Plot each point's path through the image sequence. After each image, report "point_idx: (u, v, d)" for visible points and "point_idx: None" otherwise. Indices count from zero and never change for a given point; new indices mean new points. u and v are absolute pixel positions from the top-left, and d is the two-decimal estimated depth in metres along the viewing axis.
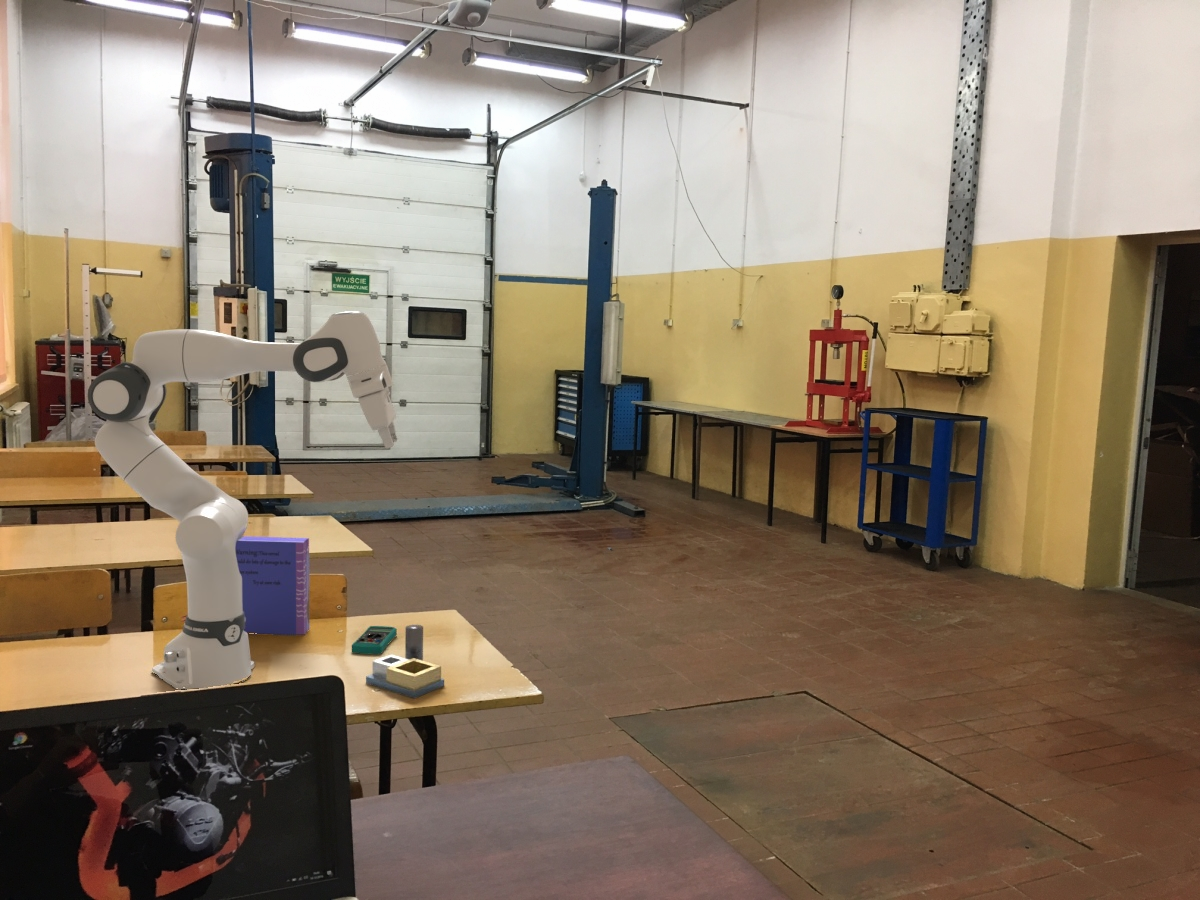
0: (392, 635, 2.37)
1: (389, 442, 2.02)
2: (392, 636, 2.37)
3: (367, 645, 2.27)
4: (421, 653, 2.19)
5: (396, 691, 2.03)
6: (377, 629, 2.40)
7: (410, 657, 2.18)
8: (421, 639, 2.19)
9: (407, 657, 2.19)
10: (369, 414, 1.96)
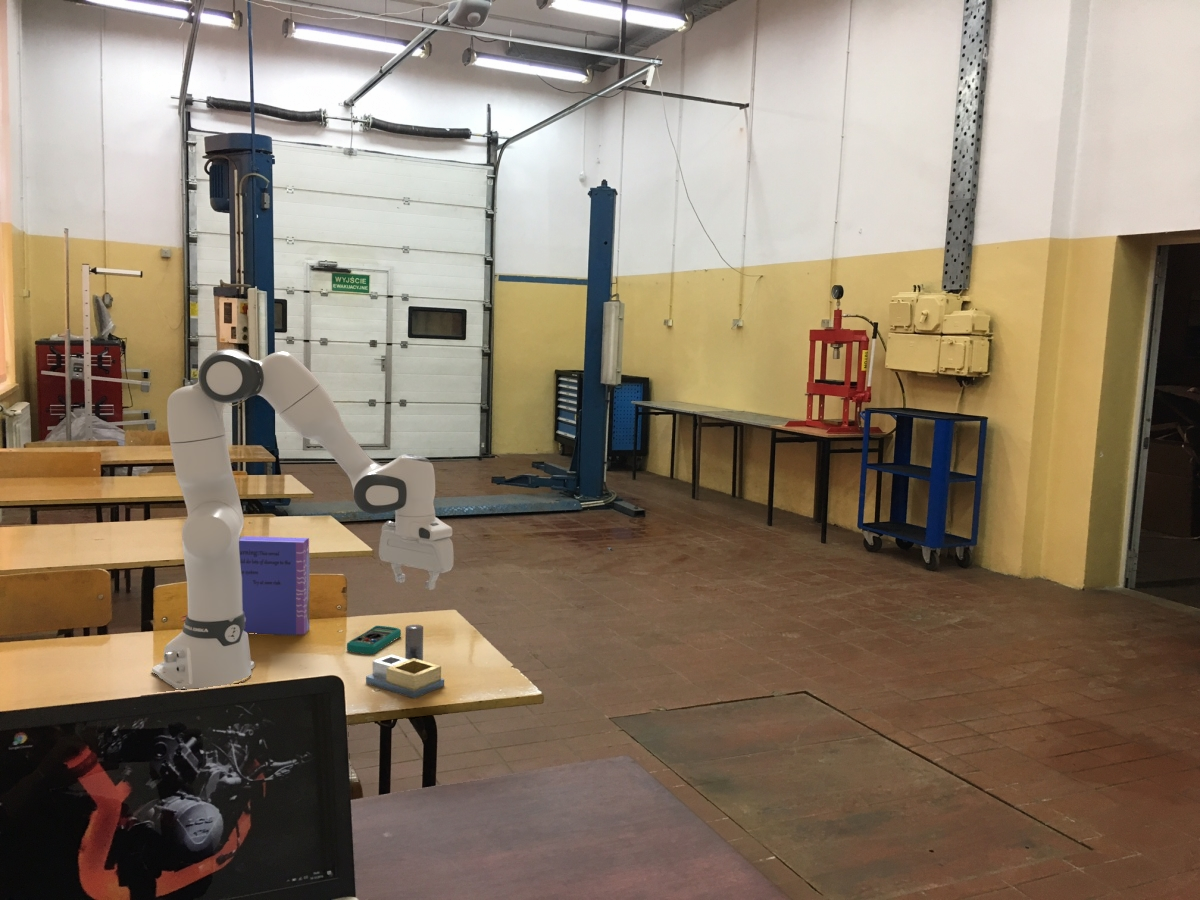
0: (393, 636, 2.37)
1: (433, 584, 2.15)
2: (393, 637, 2.37)
3: (361, 644, 2.27)
4: (421, 653, 2.19)
5: (396, 691, 2.03)
6: (382, 629, 2.40)
7: (410, 657, 2.18)
8: (421, 639, 2.19)
9: (407, 657, 2.19)
10: (444, 557, 2.11)
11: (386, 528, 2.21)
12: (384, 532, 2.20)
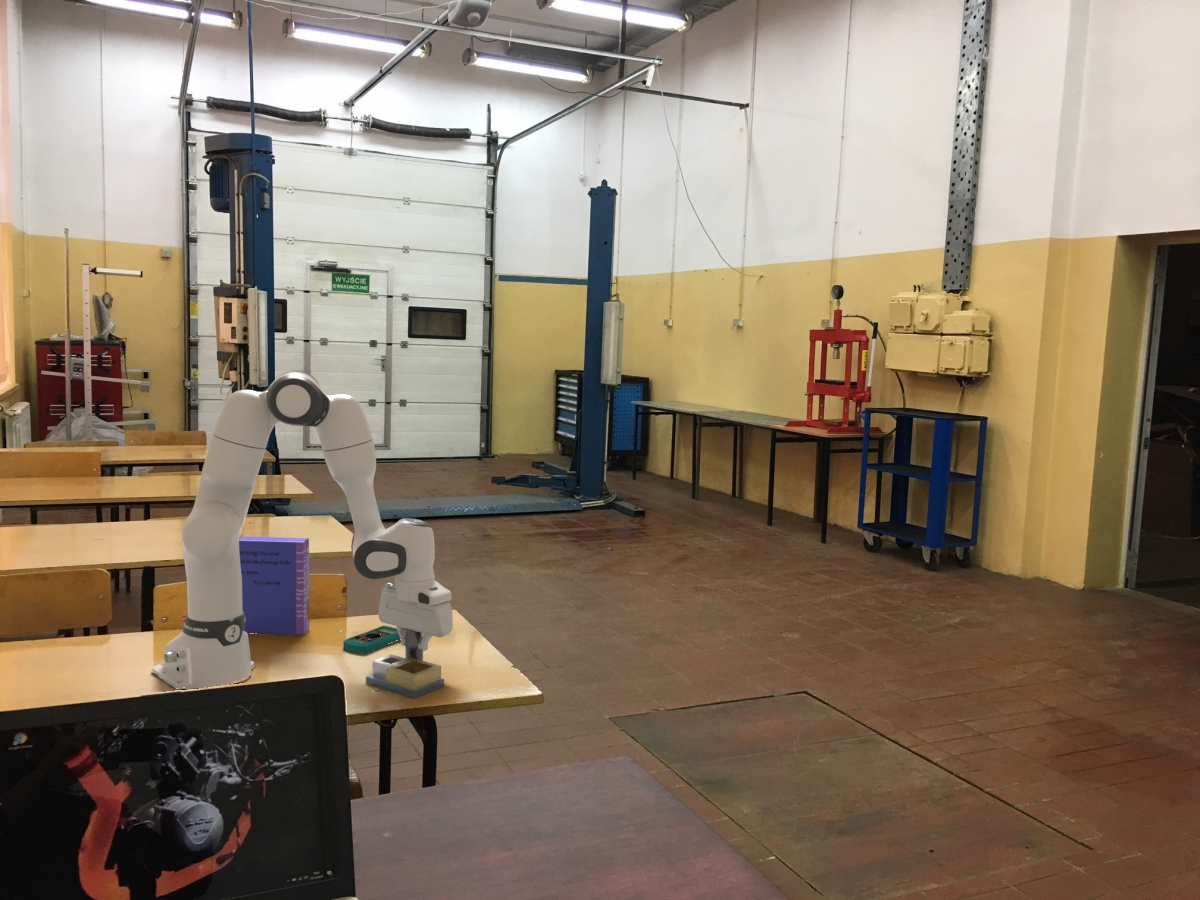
0: (394, 637, 2.36)
1: (426, 645, 2.18)
2: (394, 638, 2.36)
3: (354, 643, 2.28)
4: (421, 652, 2.19)
5: (396, 691, 2.03)
6: (387, 629, 2.40)
7: (410, 657, 2.18)
8: (421, 639, 2.19)
9: (407, 657, 2.19)
10: (443, 622, 2.13)
11: (386, 590, 2.23)
12: (384, 594, 2.21)
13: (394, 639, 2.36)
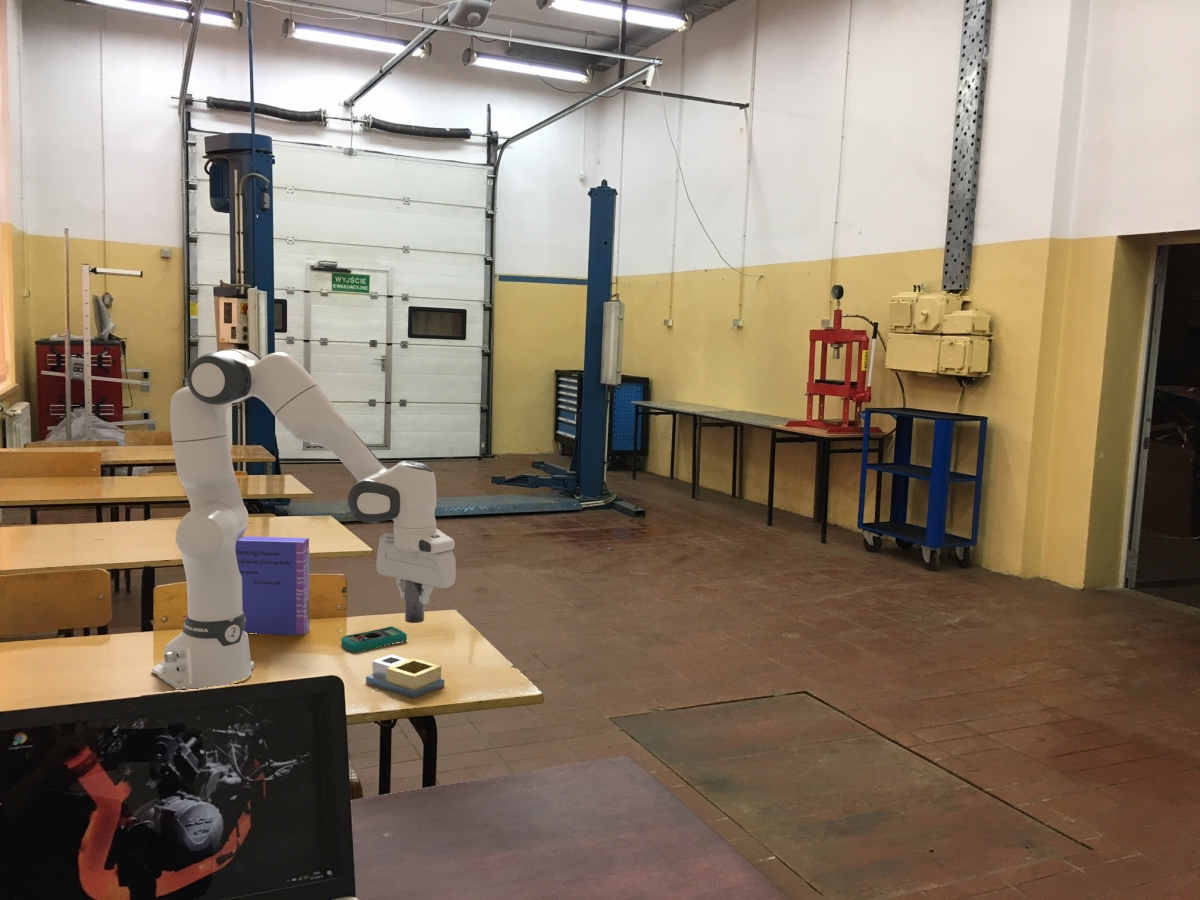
0: (393, 639, 2.34)
1: (427, 598, 2.03)
2: (393, 640, 2.34)
3: (347, 641, 2.30)
4: (422, 606, 2.04)
5: (396, 691, 2.03)
6: (392, 630, 2.39)
7: (410, 611, 2.03)
8: (422, 592, 2.04)
9: (407, 611, 2.04)
10: (446, 572, 1.98)
11: (384, 540, 2.08)
12: (382, 544, 2.06)
13: (393, 641, 2.34)
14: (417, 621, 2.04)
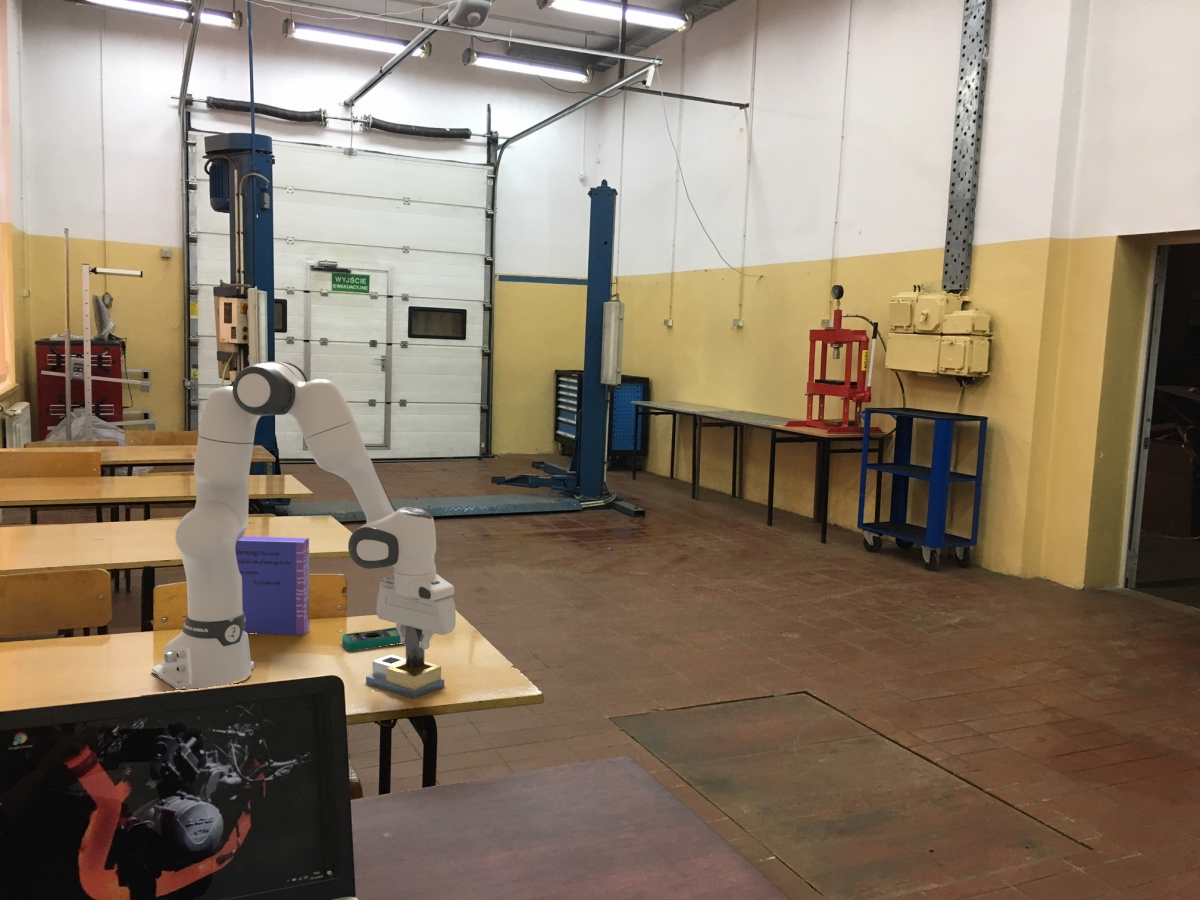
0: (391, 640, 2.33)
1: (427, 644, 2.04)
2: (391, 641, 2.33)
3: (345, 639, 2.31)
4: (422, 652, 2.05)
5: (396, 691, 2.03)
6: (395, 631, 2.38)
7: (411, 656, 2.04)
8: (422, 637, 2.05)
9: (407, 656, 2.05)
10: (446, 618, 1.99)
11: (384, 585, 2.09)
12: (382, 589, 2.07)
13: (391, 642, 2.33)
14: (417, 666, 2.05)
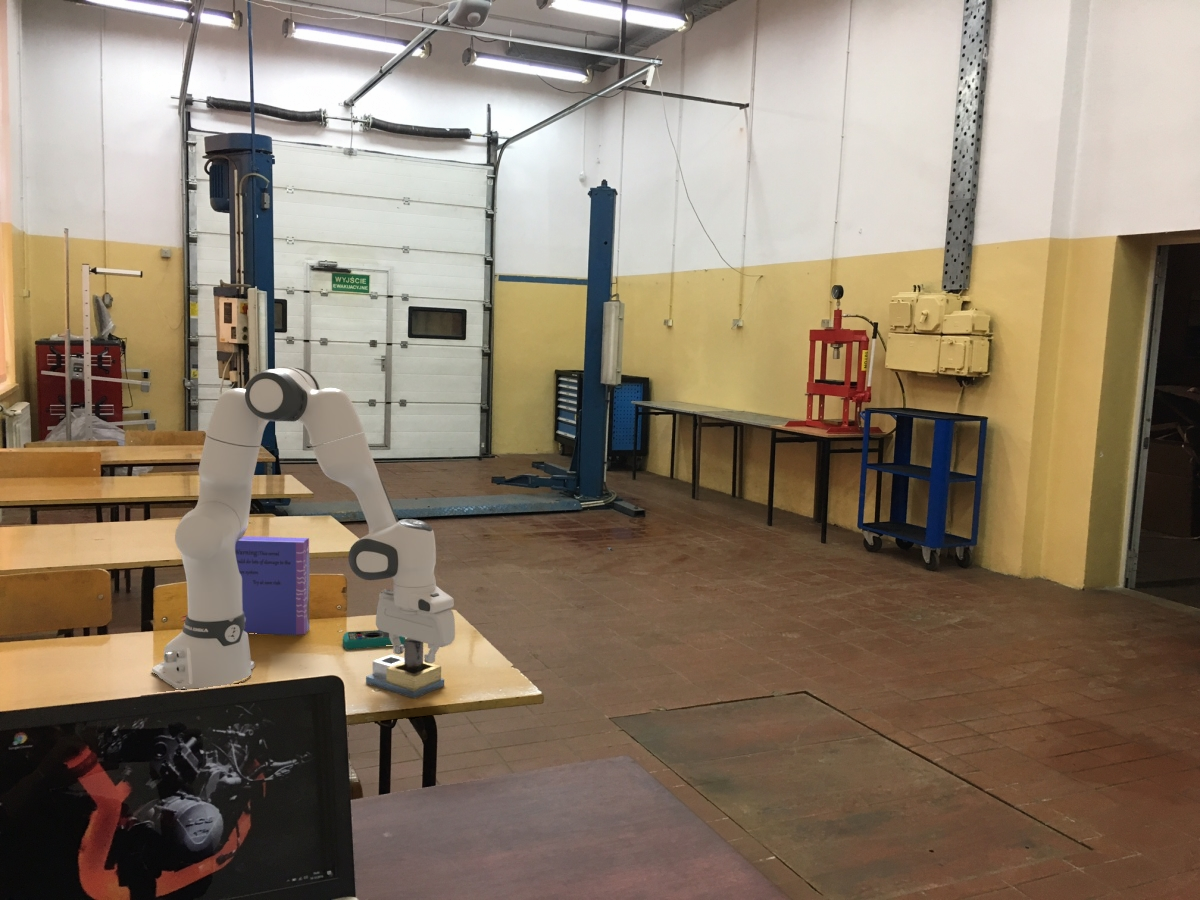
0: (389, 641, 2.33)
1: (433, 657, 2.03)
2: (389, 642, 2.33)
3: (344, 637, 2.32)
4: (421, 667, 2.06)
5: (396, 691, 2.03)
6: None
7: None
8: (421, 653, 2.05)
9: None
10: (445, 631, 1.99)
11: (384, 596, 2.09)
12: (381, 601, 2.08)
13: (389, 643, 2.33)
14: None
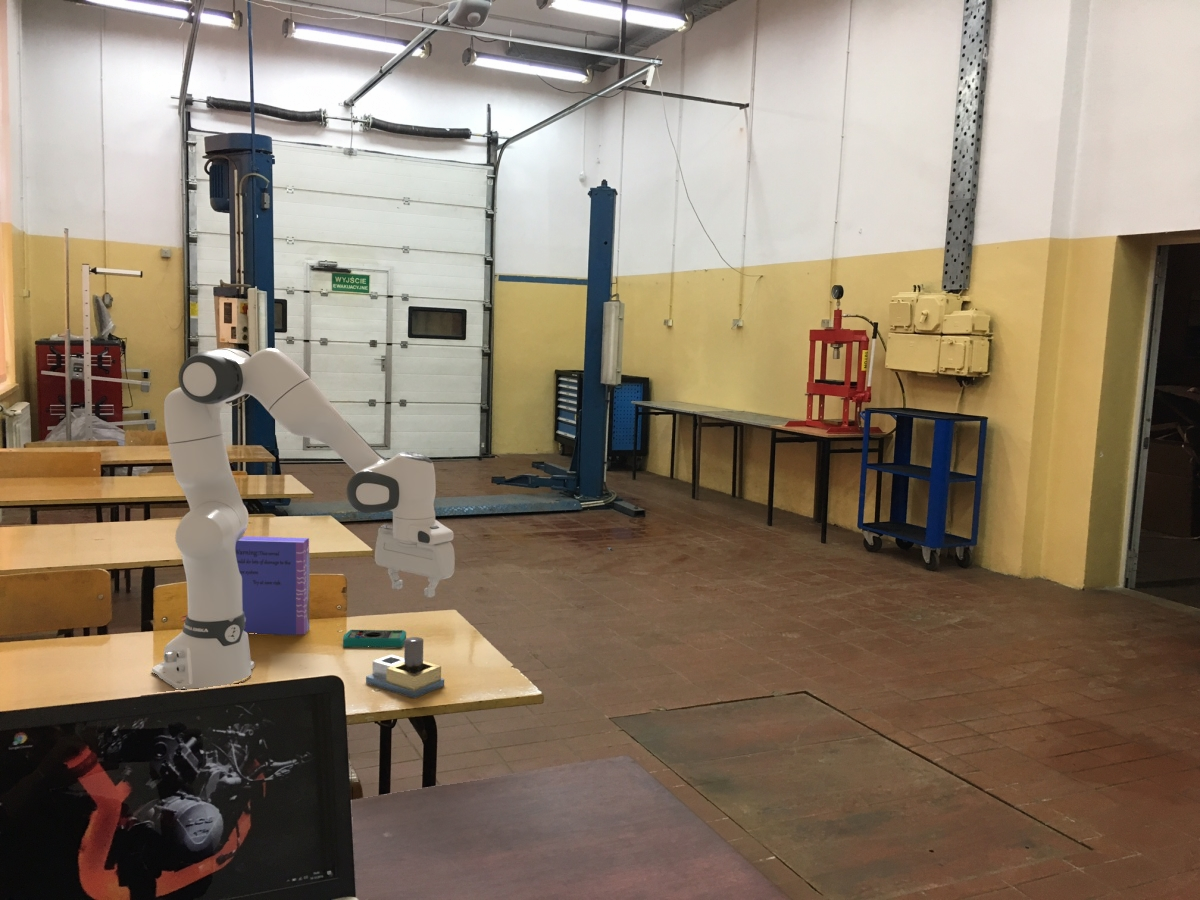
0: (386, 642, 2.32)
1: (433, 591, 2.02)
2: (386, 643, 2.32)
3: (345, 634, 2.34)
4: (421, 667, 2.06)
5: (396, 691, 2.03)
6: (399, 634, 2.36)
7: None
8: (421, 653, 2.05)
9: None
10: (444, 563, 1.97)
11: (383, 531, 2.07)
12: (380, 535, 2.06)
13: (386, 644, 2.32)
14: None
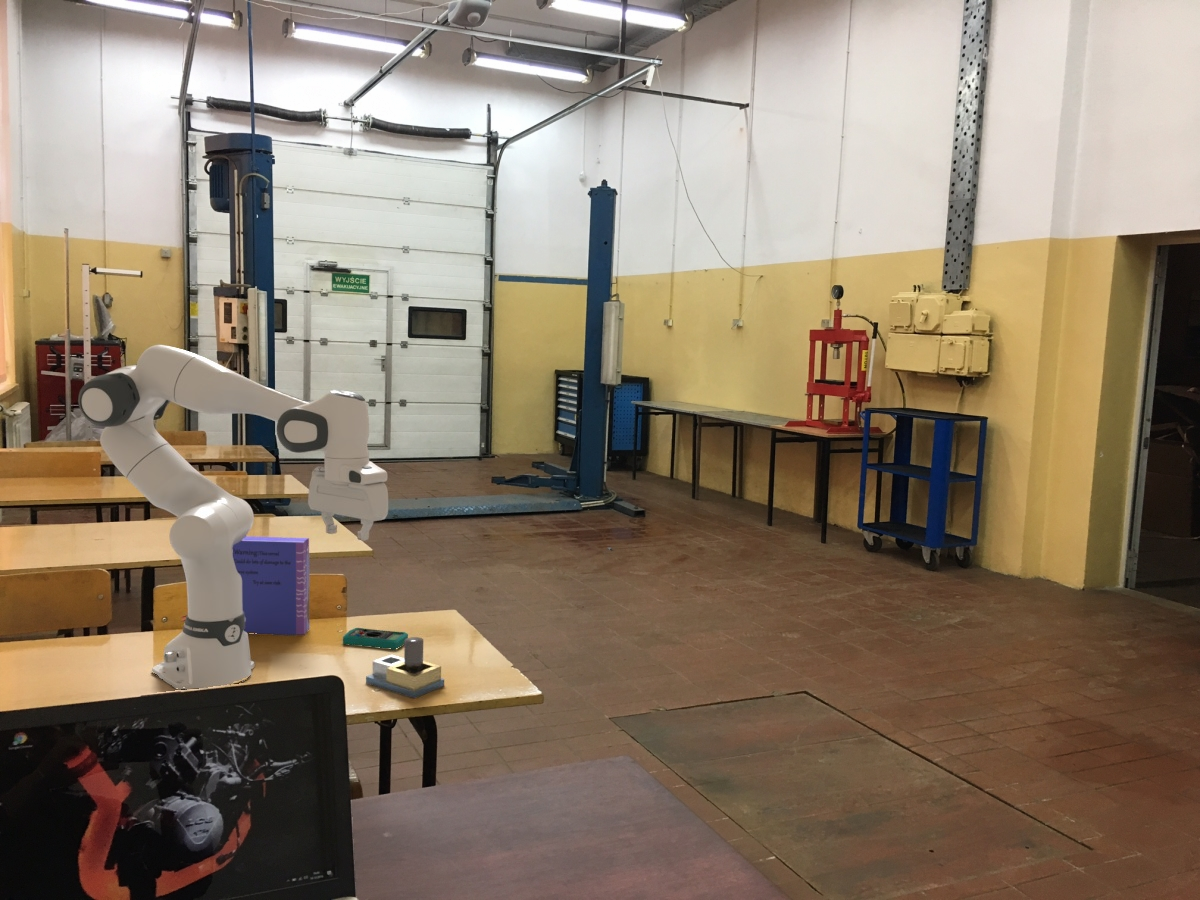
0: (381, 643, 2.31)
1: (366, 535, 1.94)
2: (381, 644, 2.31)
3: None
4: (421, 667, 2.06)
5: (396, 691, 2.03)
6: (398, 636, 2.35)
7: None
8: (421, 653, 2.05)
9: None
10: (377, 504, 1.90)
11: (316, 474, 2.00)
12: (313, 478, 1.98)
13: (382, 645, 2.31)
14: None
